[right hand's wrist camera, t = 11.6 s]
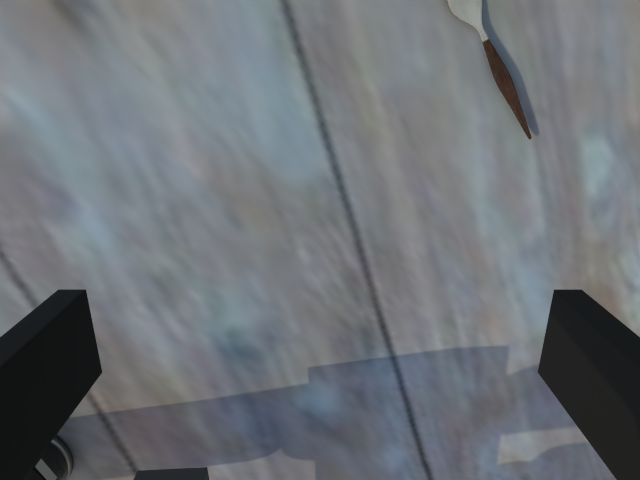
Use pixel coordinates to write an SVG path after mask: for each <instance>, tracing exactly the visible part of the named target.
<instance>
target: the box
mask: <svg viewBox="0 0 640 480" xmlns="http://www.w3.org/2000/svg"><path fill="white" fill-rule="evenodd" d="M134 480H209V476H208V470H207V467H206V468H185V469H165V470H145V471H137V474H136V476H135V478H134Z"/></svg>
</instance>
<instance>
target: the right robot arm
mask: <svg viewBox="0 0 640 480" xmlns="http://www.w3.org/2000/svg"><path fill="white" fill-rule="evenodd" d="M101 373H102V369H101V364H100V359H99V354H98V349H97V344H96V339H95V334H94V329H93V324H92V318H91V313H90V308H89V303H88V298H87V293H86V290H58V291H56V292H55V293H54V294H53V295H51V296H50V297H49V298H48V299H47V300H45V301H44V302H43V303H42V304H40V305H39V306H38V307H37V308H36V309H34V310H33V311H32V312H31V313H29V314H28V315H27V316H26V317H25V318H23V319H22V320H21V321H20V322H18V323H17V324H16V325H15V326H14V327H12V328H11V329H10V330H9V331H7V332H6V333H5V334H4V335H3V336H1V337H0V480H23V479H24V478H25V477H26V475H27V474H28V472H29V471H30V470H31V468H32V467H33V466H34V464H35V463H36V462H37V460H38V459H39V458H40V456H41V455H42V453H43V452H44V451H45V449H46V448H47V447H48V445H49V444H50V443H51V441H52V440H53V438H54V437H55V436H56V434H57V433H58V432H59V430H60V429H61V428H62V426H63V425H64V423H65V422H66V421H67V419H68V418H69V417H70V415H71V414H72V413H73V411H74V410H75V408H76V407H77V406H78V404H79V403H80V402H81V400H82V399H83V398H84V396H85V395H86V394H87V392H88V391H89V389H90V388H91V387H92V385H93V384H94V383H95V381H96V380H97V379H98V377H99V376H100V374H101ZM538 373H539V374H540V376H541V377H542V379H543V380H544V381H545V383H546V384H547V385H548V387H549V388H550V389H551V391H552V392H553V394H554V395H555V396H556V398H557V399H558V400H559V402H560V403H561V404H562V406H563V407H564V409H565V410H566V411H567V413H568V414H569V415H570V417H571V418H572V419H573V421H574V422H575V423H576V425H577V426H578V428H579V429H580V430H581V432H582V433H583V434H584V436H585V437H586V438H587V440H588V441H589V443H590V444H591V445H592V447H593V448H594V449H595V451H596V452H597V453H598V455H599V456H600V458H601V459H602V460H603V462H604V463H605V464H606V466H607V467H608V468H609V470H610V471H611V472H612V474H613V475H614V477H615V478H616V479H617V480H640V337H639V336H637V335H636V334H635V333H634V332H633V331H631V330H630V329H629V328H628V327H626V326H625V325H624V324H623V323H622V322H620V321H619V320H618V319H617V318H615V317H614V316H613V315H612V314H611V313H609V312H608V311H607V310H606V309H604V308H603V307H602V306H601V305H600V304H598V303H597V302H596V301H595V300H593V299H592V298H591V297H590V296H589V295H587V294H586V293H585V292H584V291H582V290H554V293H553V298H552V303H551V308H550V313H549V318H548V324H547V329H546V334H545V339H544V344H543V349H542V354H541V359H540V364H539V369H538Z"/></svg>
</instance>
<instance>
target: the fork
mask: <svg viewBox="0 0 640 480" xmlns="http://www.w3.org/2000/svg"><path fill="white" fill-rule="evenodd" d="M448 4H449V7H450V9H451V11H452V12H453V13H454V15H456V16H457V17H458V18H460V19H461V20H463V21H465V22H467V23H469V24H470V25H472V26H473V27H475V28H476V29H477V30H478V32H479V34H480V36H481V39H482V42H483V45H484V49H485V52H486V55H487V58H488V61H489V64H490V67H491V70H492V73H493V76H494V79H495V81H496V83H497V85H498V87H499V89H500V91H501V92H502V94H503V96H504V97H505V99H506V101H507V102H508V104H509V105H510V107H511V109H512V110H513V112H514V114H515V116H516V117H517V119H518V121H519V123H520V125H521V126H522V128H523V130H524V132H525V133H526V135H527V137H528V138H529V139H531V135H530V132H529V129H528V126H527V123H526V120H525V117H524V114H523V111H522V108H521V105H520V102H519V99H518V96H517V93H516V90H515V87H514V84H513V81H512V79H511V76H510V74H509V72H508V70H507V68H506V67H505V65H504V63H503V62H502V60H501V58H500V57H499V55H498V53H497V52H496V50H495V48H494V47H493V45H492V43H491V42H490V40H489V38H488V37H487V35H486V33H485V31H484V29H483V26H482V0H448Z"/></svg>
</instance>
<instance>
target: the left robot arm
mask: <svg viewBox="0 0 640 480" xmlns="http://www.w3.org/2000/svg"><path fill="white" fill-rule="evenodd" d="M72 467H73V461H72V457H71V454H70V452H69V450H68V449H67V447H66V446H65V445H64V443H63V442H62V441H61V440H59V439H58V438H57V437H56V436H55V437H54V438H53V440H52V441H51V443H50V444H49V445H48V447H47V448H46V449H45V451H44V452H43V453H42V455H41V456H40V458H39V459H38V460H37V462H36V463H35V464H34V466H33V467H32V468H31V470H30V471H29V472H28V474H27V475H26V477H25V478H24V479H23V480H67V479H68V477H69V476H70V474H71V472H72Z"/></svg>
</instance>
